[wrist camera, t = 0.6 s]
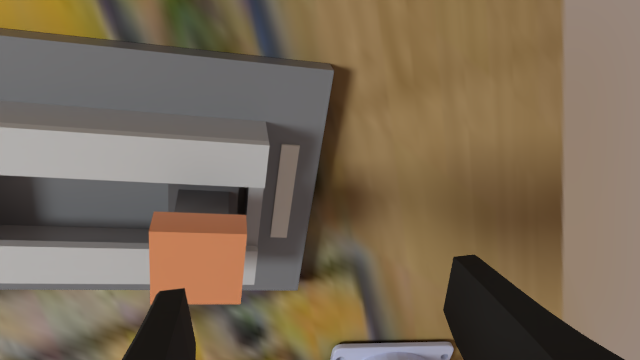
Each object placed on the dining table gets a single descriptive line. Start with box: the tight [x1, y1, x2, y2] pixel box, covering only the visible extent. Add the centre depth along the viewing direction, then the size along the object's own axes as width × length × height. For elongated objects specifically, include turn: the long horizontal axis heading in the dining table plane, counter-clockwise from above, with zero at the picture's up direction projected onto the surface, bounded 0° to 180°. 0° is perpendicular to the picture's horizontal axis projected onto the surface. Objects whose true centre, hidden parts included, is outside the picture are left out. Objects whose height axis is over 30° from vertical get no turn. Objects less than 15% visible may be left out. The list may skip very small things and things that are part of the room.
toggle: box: [149, 183, 247, 304], centre depth 19 cm, size 3×3×6 cm
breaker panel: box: [0, 28, 334, 290], centre depth 20 cm, size 12×16×3 cm
